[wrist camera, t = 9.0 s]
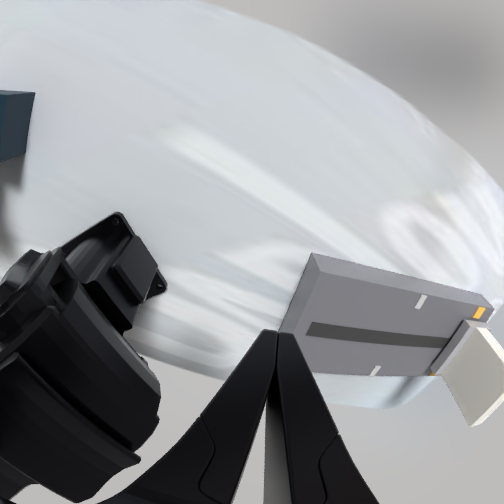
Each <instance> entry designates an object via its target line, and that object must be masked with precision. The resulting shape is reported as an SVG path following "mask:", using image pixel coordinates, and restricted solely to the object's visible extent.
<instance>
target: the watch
mask: <svg viewBox="0 0 504 504" xmlns="http://www.w3.org/2000/svg"><path fill="white" fill-rule="evenodd" d="M34 96H35V93H34V92H22V91H5V90H0V162H2V161H5V160H7V159H10V158H12V157H15V156H18V155H20V154H23V153H25V152H26V144H27V136H28V129H29V122H30V116H31V111H32V105H33V100H34Z"/></svg>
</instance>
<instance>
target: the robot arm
mask: <svg viewBox="0 0 504 504" xmlns="http://www.w3.org/2000/svg"><path fill="white" fill-rule="evenodd" d="M115 217H116V218H118V219H119V223H118V222H116V221H115V219H114V218H115ZM63 252H64V253H65V254H64V253H63ZM157 267H158V265H157V263H156V262H155V260H154V259H153V257H152V256H151V254H150V253H149V251H148V250H147V248H146V246H145V245H144V243H143V242H142V240H141V239H140V237H139V236H137V235H135V233H134V232H133V230H132V228H131V227H130V225H129V224H128V222H127V220H126V219H125V217H124V216H123V214H122V213H120V212H114V213H113V214H111V215H109V216H108V217H106V218H104V219H103V220H101V221H100V222H98V223H96V224H95V225H93V226H92V227H90V228H88V229H87V230H85V231H84V232H82V233H81V234H79V235H77V236H76V237H74V238H73V239H71V240H70V241H68V242H67V243H65V244H64V245H62V246H61V247H58V248H56V249H54V250H53V251H50V250H49V251H48V252H46V253H44V254H43V253H39V252H36V251H34V250H32V249H31V250H29V251H28V252H26V253H25V254H24V255H23V256H22V257H21V258H20V259H19V260H18V261H17V262H16V263H15V264H14V265H13V266H12V267H11V268H10V269H9V270H8V271H7V272H6V274H5V275H4V277H3V278H2V280H1V282H0V504H16V503H14V502H12V501H10V500H11V499H12V498H13V497H14V496H16V495H17V494H18V493H19V492H20V491H22V490H23V489H24V488H25V487H27V486H29V485H31V484H40V485H42V486H44V487H46V488H47V489H49V490H51V491H53V492H54V493H56V494H58V495H60V496H62V497H64V498H66V499H67V500H69V501H72V502H73V503H80V502H82V501H85V500H87V499H90V498H92V497H93V496H94V495H95V494H96V493H97V492H98V491H99V490H100V489H101V487H103V485H104V484H105V483H106V482H107V481H108V480H109V479H110V478H112V477H113V476H114V475H116V474H117V473H119V472H120V471H121V470H123V469H125V468H128V467H130V466H133V465H136V464H138V463H139V462H140V461H141V457H140V456H138V455H137V454H135V453H134V452H135V451H136V450H137V449H139V448H140V447H141V446H142V445H143V444H144V443H145V442H146V441H147V440H148V438H149V437H150V436H151V435H152V434H153V432H154V430H155V429H156V427H157V425H158V423H159V420H160V419H159V417H158V415H157V411H158V407H159V403H160V399H161V393H160V384H159V381H158V380H157V378H156V377H155V375H154V373H153V372H152V371H151V370H150V369H149V368H148V363H147V362H146V361H145V360H144V358H142V357H140V356H139V355H138V354H137V353H136V352H135V350H134V349H133V348H132V347H131V346H130V345H129V343H128V342H127V341H126V340H125V339H124V335H125V332H126V331H127V330H130V329H131V328H132V327H133V324H134V321H135V319H136V316H137V313H138V311H139V308H140V306H141V304H143V303H144V301H145V300H146V299H148V298H151V297H153V296H155V295H158V294H160V293H162V292H164V291H165V290H166V287H167V282H166V280H165V279H164V277H163V276H162V275H161V273H160V272H159V270H158V269H157ZM157 284H161V285H162V287H160V286H158V285H157ZM266 399H267V400H266ZM265 403H266V429H265V470H264V471H265V472H264V503H263V504H379V502H378V501H377V499H376V498H375V496H374V495H373V493H372V492H371V490H370V488H369V487H368V485H367V484H366V482H365V481H364V479H363V478H362V476H361V474H360V473H359V471H358V469H357V467H356V466H355V464H354V462H353V461H352V458H351V457H350V455H349V452H348V450H347V449H346V446H345V444H344V442H343V440H342V438H341V436H340V435H339V434H338V433H339V431H338V429H337V427H336V425H335V423H334V421H333V419H332V416H331V414H330V412H329V410H328V407H327V405H326V403H325V401H324V399H323V397H322V394H321V392H320V390H319V388H318V386H317V383H316V381H315V379H314V377H313V375H312V373H311V370H310V368H309V366H308V364H307V362H306V360H305V357H304V355H303V353H302V351H301V349H300V347H299V344H298V342H297V340H296V338H295V336H294V334H293V333H289V332H282V331H280V332H279V333H278V332H277V331H275V330H268V329H264V330H262V331H261V333H260V334H259V336H258V337H257V339H256V340H255V341H254V343H253V344H252V346H251V347H250V348H249V350H248V351H247V353H246V354H245V355H244V357H243V358H242V360H241V361H240V362H239V364H238V365H237V366H236V368H235V369H234V371H233V372H232V373H231V375H230V376H229V377H228V379H227V380H226V381H225V383H224V384H223V385H222V387H221V388H220V390H219V391H218V392H217V394H216V395H215V396H214V397H213V399H212V400H211V402H210V403H209V404H208V405H207V407H206V408H205V409H204V411H203V412H202V413H201V414H200V417H198V418H197V419H196V421H195V422H194V423H193V425H192V426H191V427H190V428H189V429H188V431H187V432H186V433H185V434H184V435H183V436H182V438H181V439H180V440H179V441H178V442H177V443H176V444H175V445H174V446H173V447H172V448H171V449H170V450H169V451H168V452H167V453H166V454H165V455H164V456H163V457H162V458H161V459H160V460H158V461H157V462H156V463H155V464H154V465H153V466H152V467H150V468H149V469H148V470H147V471H146V472H145V473H144V474H143V475H141V476H140V477H139V478H138V479H137V480H135V481H134V482H133V483H132V484H130V485H129V486H128V487H127V488H125V489H124V490H122V491H121V492H120V493H118V494H116V495H114V496H113V497H111V498H109V499H107V500H104V501H102V502H100V503H97V504H232V503H233V500H234V498H235V495H236V492H237V489H238V487H239V484H240V481H241V478H242V475H243V472H244V469H245V466H246V463H247V460H248V457H249V454H250V451H251V448H252V445H253V442H254V439H255V436H256V433H257V429H258V426H259V423H260V419H261V416H262V413H263V410H264V407H265Z"/></svg>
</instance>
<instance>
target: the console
mask: <svg viewBox="0 0 504 504" xmlns="http://www.w3.org/2000/svg"><path fill="white" fill-rule="evenodd" d="M493 311H494V308H493V307H492V305H491V304H490V303H489V302H488V301H487V300H486V299H485V298H484V297H483V296H482V295H480V294H477V293H473V292H469V291H465V290H461V289H457V288H453V287H449V286H445V285H442V284H438V283H434V282H430V281H426V280H422V279H418V278H414V277H410V276H406V275H402V274H398V273H394V272H390V271H386V270H382V269H377V268H373V267H369V266H365V265H361V264H357V263H353V262H349V261H345V260H340V259H336V258H332V257H328V256H324V255H320V254H315V253H311V256H310V258H309V261H308V263H307V266H306V268H305V271H304V273H303V275H302V278H301V280H300V283H299V285H298V288H297V290H296V292H295V295H294V297H293V299H292V302H291V304H290V306H289V309H288V311H287V313H286V316H285V318H284V320H283V323H282V325H281V327H280V329H279V332H280V331H282V332H289V333H293V334H294V336H295V338H296V340H297V342H298V344H299V347H300V349H301V351H302V353H303V355H304V357H305V360H306V362H307V364H308V366H309V368H310V370H311V372H315V373H328V374H344V375H367V376H438V375H434V373H433V372H432V370H431V368H430V367H431V366H432V365H433V363H434V362H435V361H436V360H437V358H438V357H439V356H440V354H441V353H442V352H443V350H444V349H445V347H446V346H447V345H448V343H449V342H450V341H451V339H452V338H453V336H454V335H455V333H456V332H457V330H458V329H459V327H460V326H461V324H462V323H463V321H464V320H471V321H478V322H485V323H486V322H487V320H488V319H489V317H490V315H491V314H492V312H493ZM279 332H278V333H279Z"/></svg>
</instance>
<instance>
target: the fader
mask: <svg viewBox="0 0 504 504" xmlns="http://www.w3.org/2000/svg"><path fill="white" fill-rule="evenodd" d="M490 330H491V328H490V327H489V325H488V324H487V323H485V322H478V321H471V320H464V321H463V323H462V324H461V326H460V327H459V329H458V330H457V332H456V333H455V335H454V336H453V338H452V339H451V341H450V342H449V343H448V345H447V346H446V347H445V349H444V350H443V352H442V353H441V354H440V356H439V357H438V358H437V360H436V361H435V362H434V363H433V365H432V366H431V367H430V368H431V370H432V372H433V373H434V375H441V376H442V378H443V379H444V381H445V383H446V385H447V386H448V388H449V390H450V392H451V393H452V395H453V397H454V399H455V401H456V402H457V404H458V406H459V408H460V410H461V412H462V414H463V416H464V417H465V419H466V421H467V423H468V425H469V427H472V426H475V425H479V424H481V423H482V422H483V421H484V420H485V419H486V418H487V417H488V416H489V415H490V414H491V413H492V412H493V411H494V410H495V409H496V408H497V407H498V406H499V405H500V404H501V403H502V402H503V401H504V350H503V348H502V347H501V346H500V344H499V343H498V342H497V341H496V339H495V338H494V337H493V336H492V334H491V333H490Z"/></svg>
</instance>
